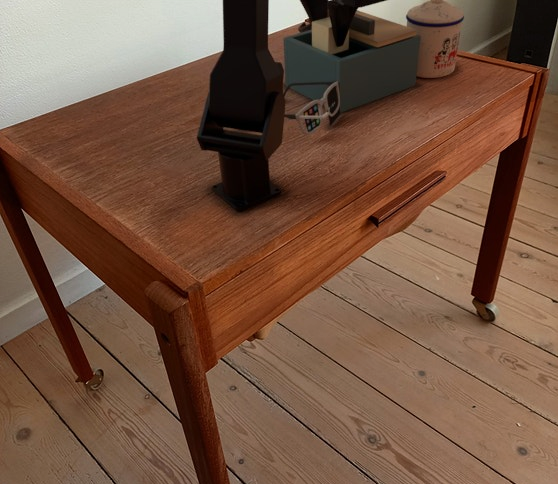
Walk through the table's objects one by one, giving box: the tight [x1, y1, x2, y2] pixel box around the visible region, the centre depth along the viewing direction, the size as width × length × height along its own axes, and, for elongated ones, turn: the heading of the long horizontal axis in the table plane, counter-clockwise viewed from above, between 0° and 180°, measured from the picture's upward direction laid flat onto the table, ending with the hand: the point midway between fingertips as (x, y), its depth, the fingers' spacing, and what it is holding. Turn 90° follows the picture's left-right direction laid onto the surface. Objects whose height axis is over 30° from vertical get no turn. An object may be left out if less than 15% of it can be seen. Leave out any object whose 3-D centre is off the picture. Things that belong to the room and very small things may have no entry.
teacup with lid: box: [405, 0, 465, 79], centre depth 97 cm, size 12×9×12 cm
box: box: [282, 30, 421, 114], centre depth 93 cm, size 14×16×8 cm
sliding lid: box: [349, 9, 417, 47], centre depth 91 cm, size 14×8×3 cm, turn 35°
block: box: [312, 17, 349, 54], centre depth 88 cm, size 4×4×4 cm
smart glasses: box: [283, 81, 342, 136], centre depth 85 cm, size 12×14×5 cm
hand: (330, 42), depth 89 cm, fingers closed on block, 4 cm apart
